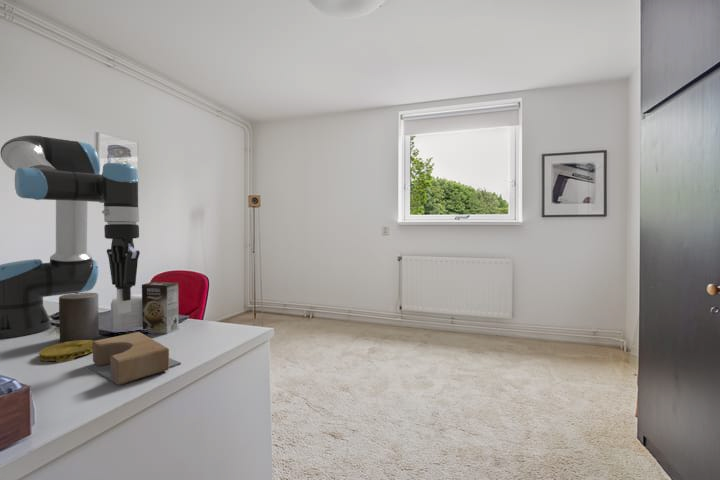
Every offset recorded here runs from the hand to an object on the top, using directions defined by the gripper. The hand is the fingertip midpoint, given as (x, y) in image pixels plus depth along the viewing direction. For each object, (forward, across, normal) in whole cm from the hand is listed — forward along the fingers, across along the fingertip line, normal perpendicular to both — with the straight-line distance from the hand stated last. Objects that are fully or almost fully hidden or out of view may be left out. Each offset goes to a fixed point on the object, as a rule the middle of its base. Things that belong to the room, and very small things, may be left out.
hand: (124, 312), depth 92 cm
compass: (+13, -17, -7) cm, 22 cm away
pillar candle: (+13, -30, 0) cm, 32 cm away
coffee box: (+13, -17, +18) cm, 28 cm away
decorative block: (+9, -3, -1) cm, 10 cm away
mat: (+13, +7, -1) cm, 15 cm away
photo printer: (+13, -25, +12) cm, 30 cm away
